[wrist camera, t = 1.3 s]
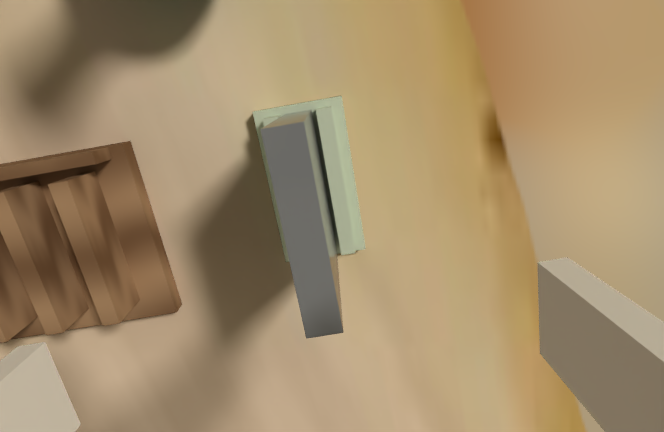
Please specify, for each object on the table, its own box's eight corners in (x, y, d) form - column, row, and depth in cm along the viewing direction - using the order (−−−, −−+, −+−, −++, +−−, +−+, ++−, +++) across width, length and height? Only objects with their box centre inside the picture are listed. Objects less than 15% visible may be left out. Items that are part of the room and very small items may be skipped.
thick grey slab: (285, 114, 27) (260, 129, 17) (311, 109, 27) (303, 121, 16) (312, 251, 30) (306, 338, 19) (336, 247, 30) (343, 332, 19)
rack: (-115, 184, 29) (-190, 200, 25) (130, 141, 28) (96, 149, 24) (-36, 339, 33) (-88, 376, 29) (182, 304, 32) (160, 336, 28)
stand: (254, 111, 28) (248, 113, 25) (340, 95, 28) (342, 96, 25) (287, 256, 31) (283, 271, 29) (364, 244, 31) (367, 257, 28)
